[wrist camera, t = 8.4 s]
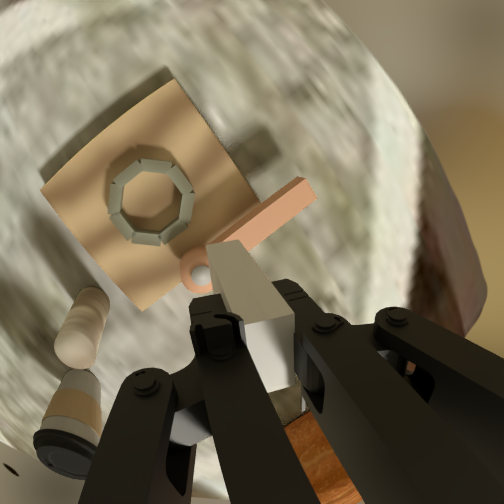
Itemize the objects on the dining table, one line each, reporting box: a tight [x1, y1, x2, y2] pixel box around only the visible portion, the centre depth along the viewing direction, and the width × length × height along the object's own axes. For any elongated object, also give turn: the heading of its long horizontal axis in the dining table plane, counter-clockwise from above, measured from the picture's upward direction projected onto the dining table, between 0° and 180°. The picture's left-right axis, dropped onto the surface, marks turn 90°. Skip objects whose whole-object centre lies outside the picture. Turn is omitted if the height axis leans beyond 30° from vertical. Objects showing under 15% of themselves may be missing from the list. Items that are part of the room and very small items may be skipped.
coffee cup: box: [33, 369, 102, 480], centre depth 29 cm, size 9×9×15 cm
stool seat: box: [40, 79, 261, 311], centre depth 29 cm, size 18×18×4 cm
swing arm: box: [180, 176, 317, 293], centre depth 29 cm, size 16×4×3 cm, turn 125°
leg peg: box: [54, 286, 110, 369], centre depth 28 cm, size 4×4×10 cm
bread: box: [284, 411, 363, 504], centre depth 47 cm, size 16×26×17 cm, turn 35°
